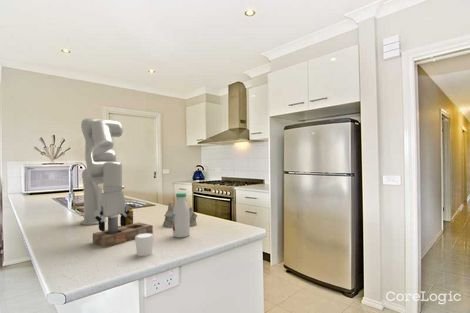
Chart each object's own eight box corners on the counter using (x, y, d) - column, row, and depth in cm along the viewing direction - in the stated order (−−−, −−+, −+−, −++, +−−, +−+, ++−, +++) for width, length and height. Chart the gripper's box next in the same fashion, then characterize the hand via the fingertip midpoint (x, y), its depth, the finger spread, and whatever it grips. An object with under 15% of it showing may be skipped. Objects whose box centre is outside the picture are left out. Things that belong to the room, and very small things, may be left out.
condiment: (135, 227, 136) (135, 205, 136) (117, 230, 131) (117, 206, 131) (132, 224, 142) (132, 203, 142) (115, 227, 137) (115, 204, 137)
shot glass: (138, 250, 102) (138, 233, 102) (155, 249, 102) (155, 232, 102) (132, 257, 95) (132, 238, 95) (151, 256, 96) (151, 237, 96)
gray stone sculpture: (159, 224, 141) (160, 197, 141) (184, 220, 153) (186, 195, 153) (174, 232, 130) (176, 202, 130) (200, 227, 142) (202, 200, 142)
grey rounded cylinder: (105, 241, 113) (105, 214, 113) (114, 239, 117) (114, 212, 117) (111, 243, 111) (110, 215, 111) (119, 240, 114) (119, 213, 114)
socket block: (92, 242, 112) (92, 233, 112) (138, 230, 131) (138, 222, 131) (106, 247, 105) (106, 237, 105) (153, 233, 124) (153, 225, 124)
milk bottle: (192, 233, 124) (192, 192, 124) (184, 238, 116) (184, 194, 117) (178, 232, 126) (178, 191, 126) (169, 237, 119) (169, 194, 119)
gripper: (125, 187, 123) (125, 222, 123) (88, 191, 109) (88, 231, 109) (135, 188, 119) (135, 225, 119) (97, 192, 105) (97, 234, 104)
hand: (112, 228), depth 114 cm, fingers open, 9 cm apart
